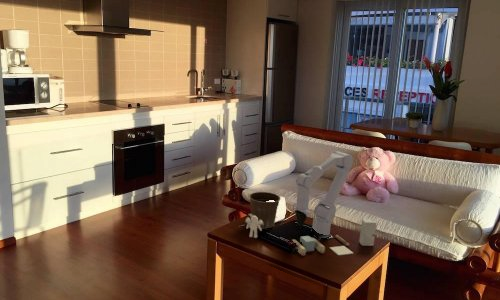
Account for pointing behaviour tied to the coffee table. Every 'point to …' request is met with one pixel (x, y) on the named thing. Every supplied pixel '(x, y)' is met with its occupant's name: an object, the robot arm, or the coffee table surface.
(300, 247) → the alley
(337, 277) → the coffee table surface
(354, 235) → the coffee table surface
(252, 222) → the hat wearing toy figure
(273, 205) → the plant pot
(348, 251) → the coaster
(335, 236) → the dowel
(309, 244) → the block
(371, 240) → the skincare box
